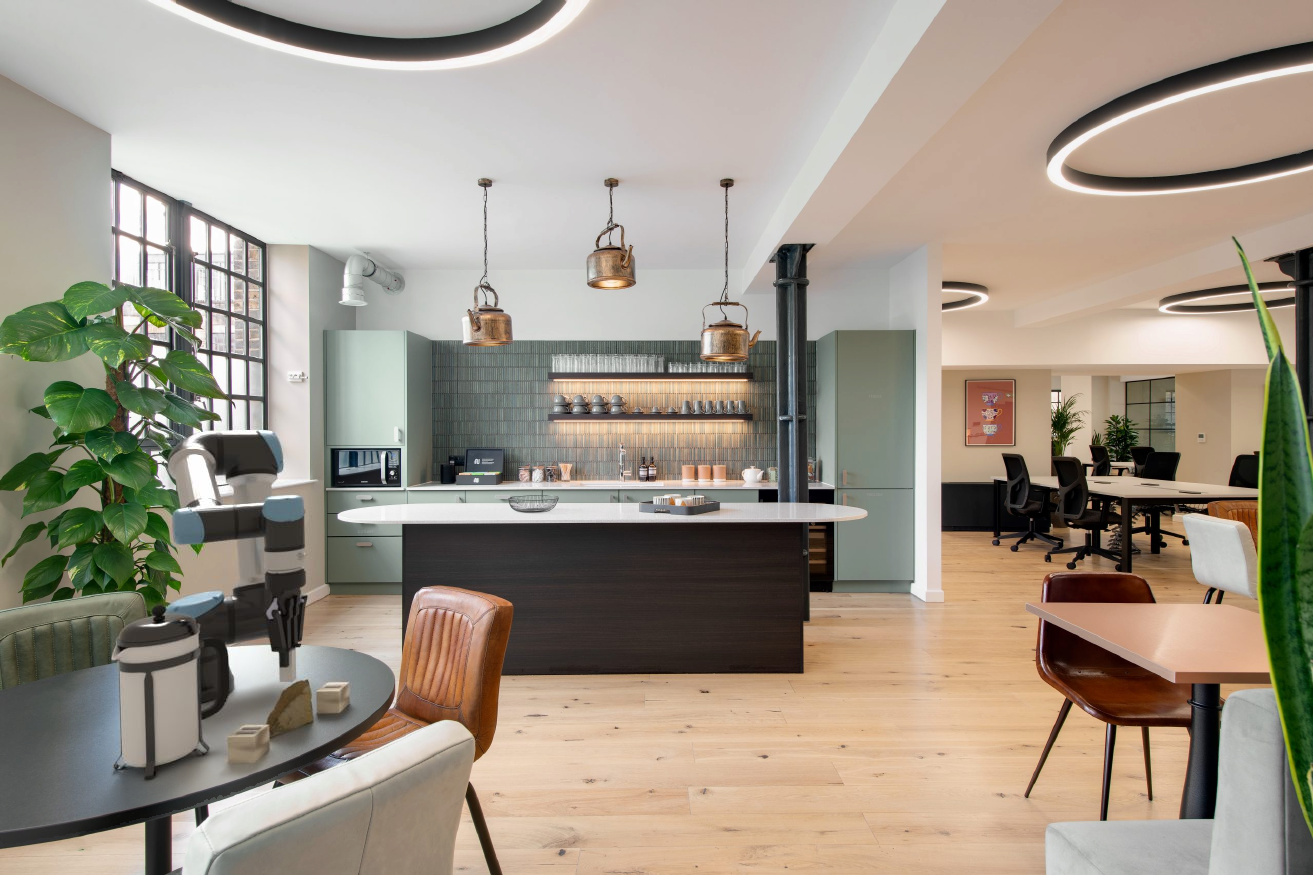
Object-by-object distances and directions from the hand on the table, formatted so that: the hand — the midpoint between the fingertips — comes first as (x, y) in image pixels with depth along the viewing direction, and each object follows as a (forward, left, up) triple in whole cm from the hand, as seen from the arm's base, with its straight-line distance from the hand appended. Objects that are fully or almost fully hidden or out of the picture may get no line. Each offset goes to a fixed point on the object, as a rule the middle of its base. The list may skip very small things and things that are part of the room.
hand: (288, 680), depth 138 cm
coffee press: (+12, -16, -10) cm, 23 cm away
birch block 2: (-9, +5, -10) cm, 14 cm away
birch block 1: (+12, -1, -10) cm, 16 cm away
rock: (0, 0, -10) cm, 10 cm away
